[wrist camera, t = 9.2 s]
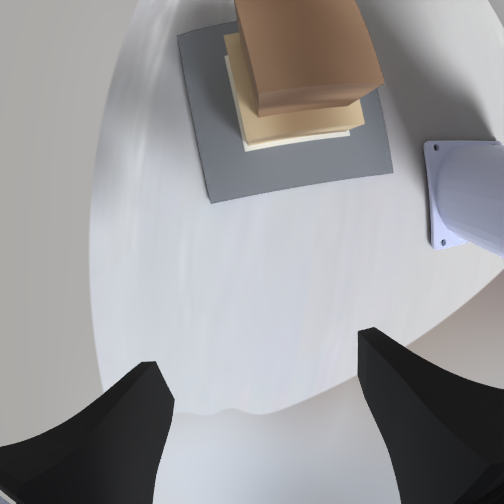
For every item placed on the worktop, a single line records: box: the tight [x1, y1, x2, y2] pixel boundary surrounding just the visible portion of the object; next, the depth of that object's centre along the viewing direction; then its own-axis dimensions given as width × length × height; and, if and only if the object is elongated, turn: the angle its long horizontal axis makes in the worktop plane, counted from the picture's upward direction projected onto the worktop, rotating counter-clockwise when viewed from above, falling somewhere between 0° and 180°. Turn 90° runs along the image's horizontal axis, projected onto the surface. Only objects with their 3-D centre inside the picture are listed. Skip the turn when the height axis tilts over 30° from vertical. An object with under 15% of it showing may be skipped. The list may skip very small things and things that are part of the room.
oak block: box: [223, 33, 365, 146], centre depth 13 cm, size 6×6×4 cm
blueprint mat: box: [178, 21, 393, 204], centre depth 15 cm, size 12×12×1 cm
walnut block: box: [234, 0, 385, 118], centre depth 9 cm, size 4×4×4 cm
